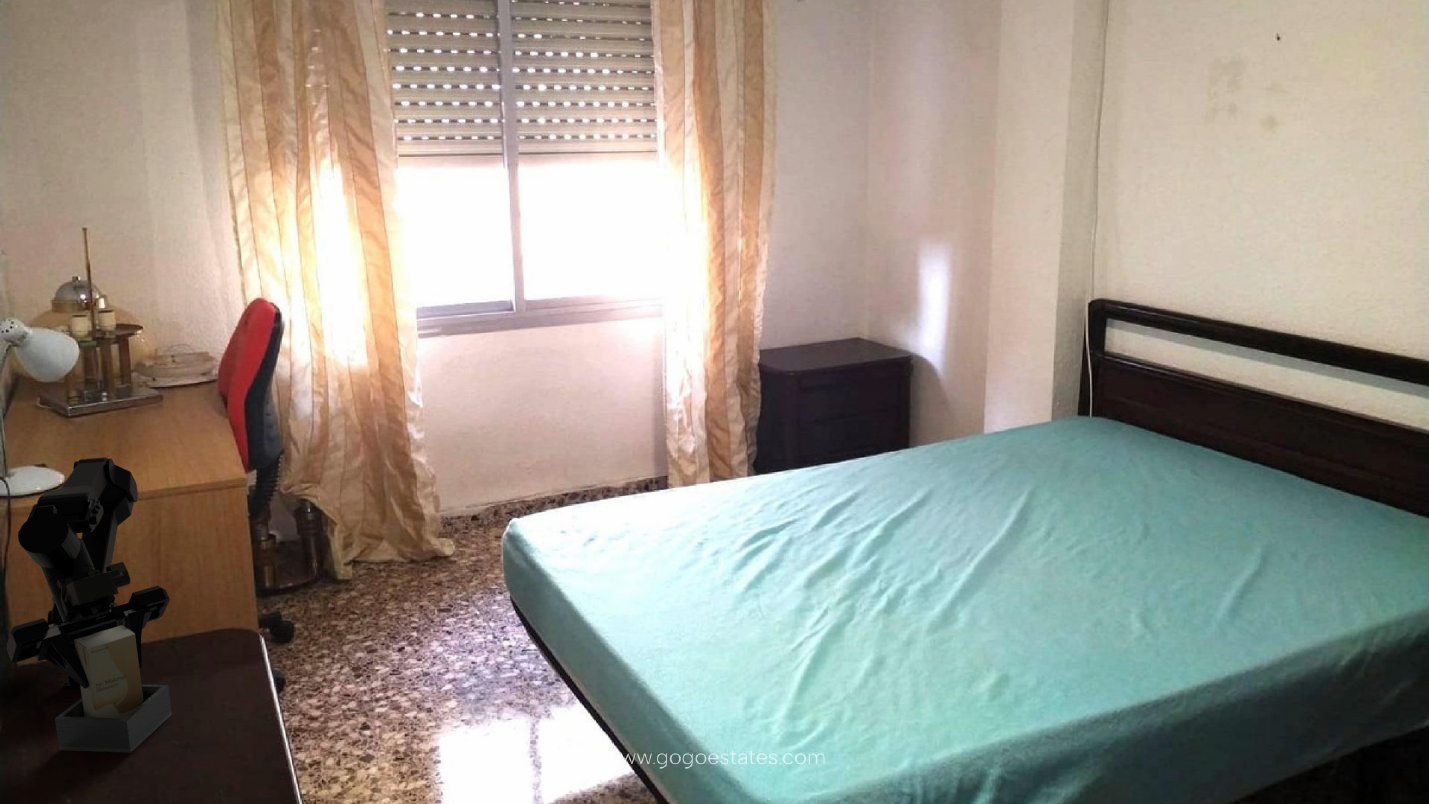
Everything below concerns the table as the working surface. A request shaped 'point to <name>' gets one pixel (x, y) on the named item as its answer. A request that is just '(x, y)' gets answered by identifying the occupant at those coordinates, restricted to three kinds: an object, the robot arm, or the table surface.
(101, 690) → the skincare box
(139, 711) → the grey open tray
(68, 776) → the table surface
